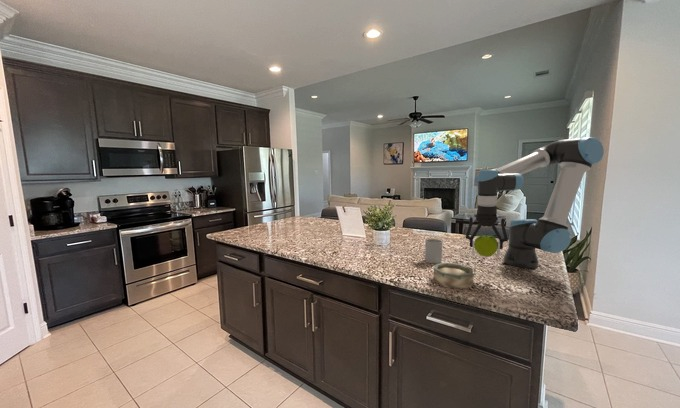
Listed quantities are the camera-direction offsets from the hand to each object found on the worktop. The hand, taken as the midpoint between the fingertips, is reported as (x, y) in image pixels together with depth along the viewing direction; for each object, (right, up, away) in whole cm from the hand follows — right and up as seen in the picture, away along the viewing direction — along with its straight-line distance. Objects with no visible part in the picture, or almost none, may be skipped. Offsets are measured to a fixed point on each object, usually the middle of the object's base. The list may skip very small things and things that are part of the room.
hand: (485, 255), depth 127 cm
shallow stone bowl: (-16, -11, -3) cm, 19 cm away
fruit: (0, 0, 0) cm, 1 cm away
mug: (-14, -8, +26) cm, 31 cm away
